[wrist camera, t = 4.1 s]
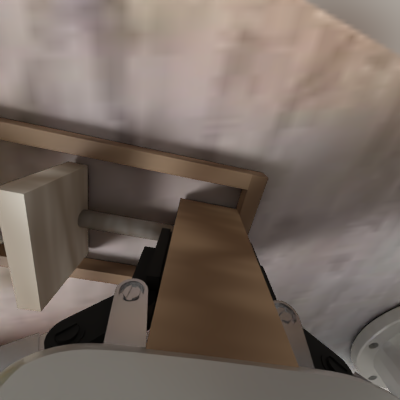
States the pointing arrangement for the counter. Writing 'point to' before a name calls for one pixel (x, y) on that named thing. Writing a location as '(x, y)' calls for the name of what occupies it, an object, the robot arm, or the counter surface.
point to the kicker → (173, 271)
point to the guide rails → (139, 158)
